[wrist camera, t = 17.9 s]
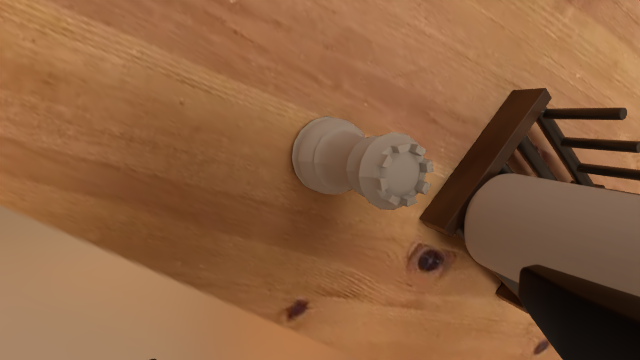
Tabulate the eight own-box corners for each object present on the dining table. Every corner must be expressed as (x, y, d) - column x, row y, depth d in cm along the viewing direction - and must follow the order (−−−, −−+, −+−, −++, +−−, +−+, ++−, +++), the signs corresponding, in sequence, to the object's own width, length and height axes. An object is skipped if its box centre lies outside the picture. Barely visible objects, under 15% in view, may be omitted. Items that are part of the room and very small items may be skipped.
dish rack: (501, 298, 30) (591, 349, 23) (419, 218, 25) (506, 254, 18) (576, 186, 31) (681, 205, 25) (513, 89, 26) (624, 82, 20)
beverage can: (510, 153, 24) (802, 185, 13) (534, 227, 26) (800, 308, 15) (442, 207, 22) (709, 297, 11) (473, 281, 24) (722, 416, 13)
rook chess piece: (291, 195, 21) (358, 239, 13) (286, 118, 20) (355, 120, 13) (358, 186, 22) (450, 221, 15) (357, 114, 21) (454, 114, 14)
